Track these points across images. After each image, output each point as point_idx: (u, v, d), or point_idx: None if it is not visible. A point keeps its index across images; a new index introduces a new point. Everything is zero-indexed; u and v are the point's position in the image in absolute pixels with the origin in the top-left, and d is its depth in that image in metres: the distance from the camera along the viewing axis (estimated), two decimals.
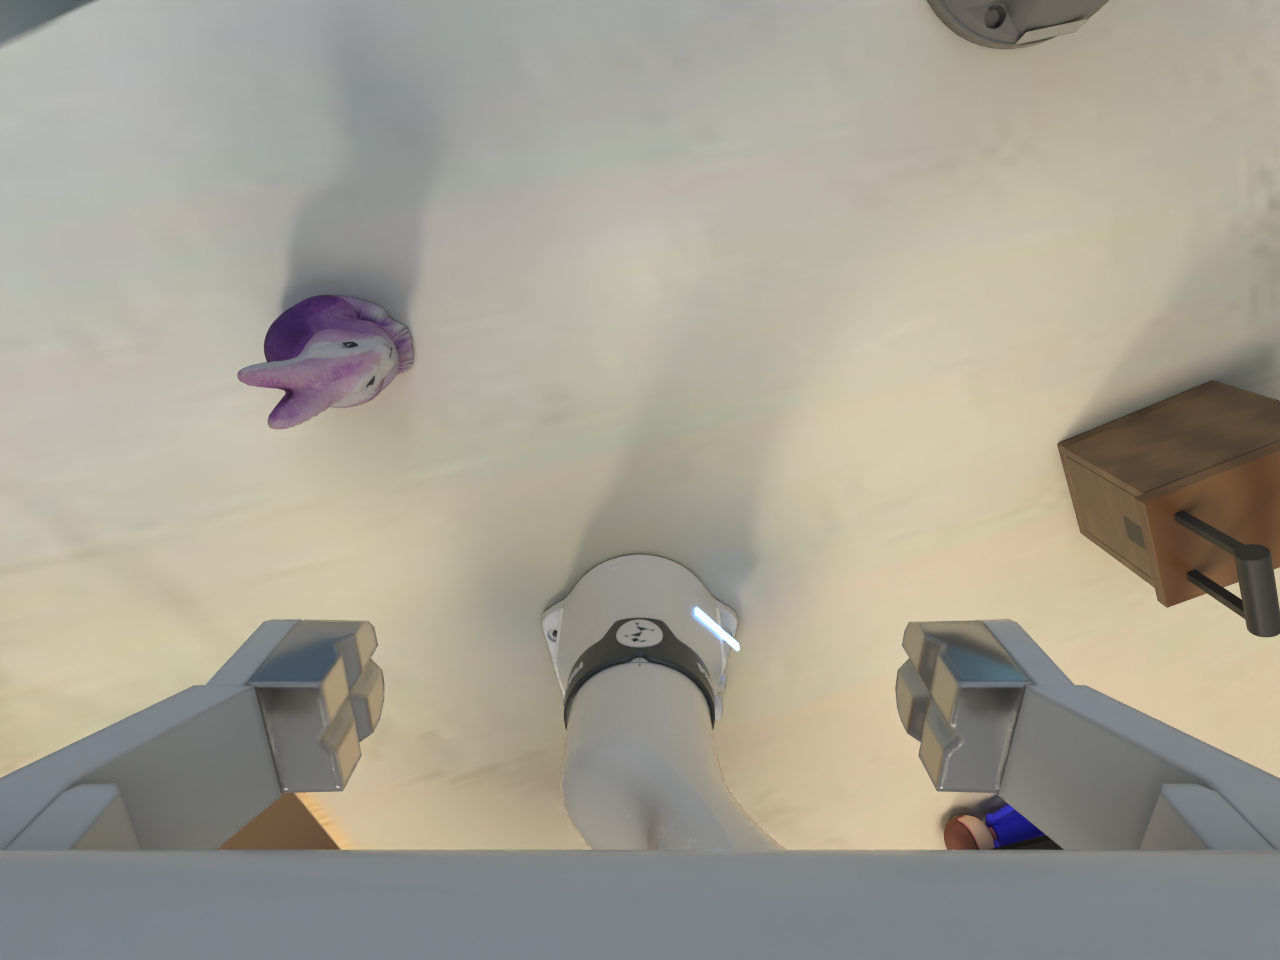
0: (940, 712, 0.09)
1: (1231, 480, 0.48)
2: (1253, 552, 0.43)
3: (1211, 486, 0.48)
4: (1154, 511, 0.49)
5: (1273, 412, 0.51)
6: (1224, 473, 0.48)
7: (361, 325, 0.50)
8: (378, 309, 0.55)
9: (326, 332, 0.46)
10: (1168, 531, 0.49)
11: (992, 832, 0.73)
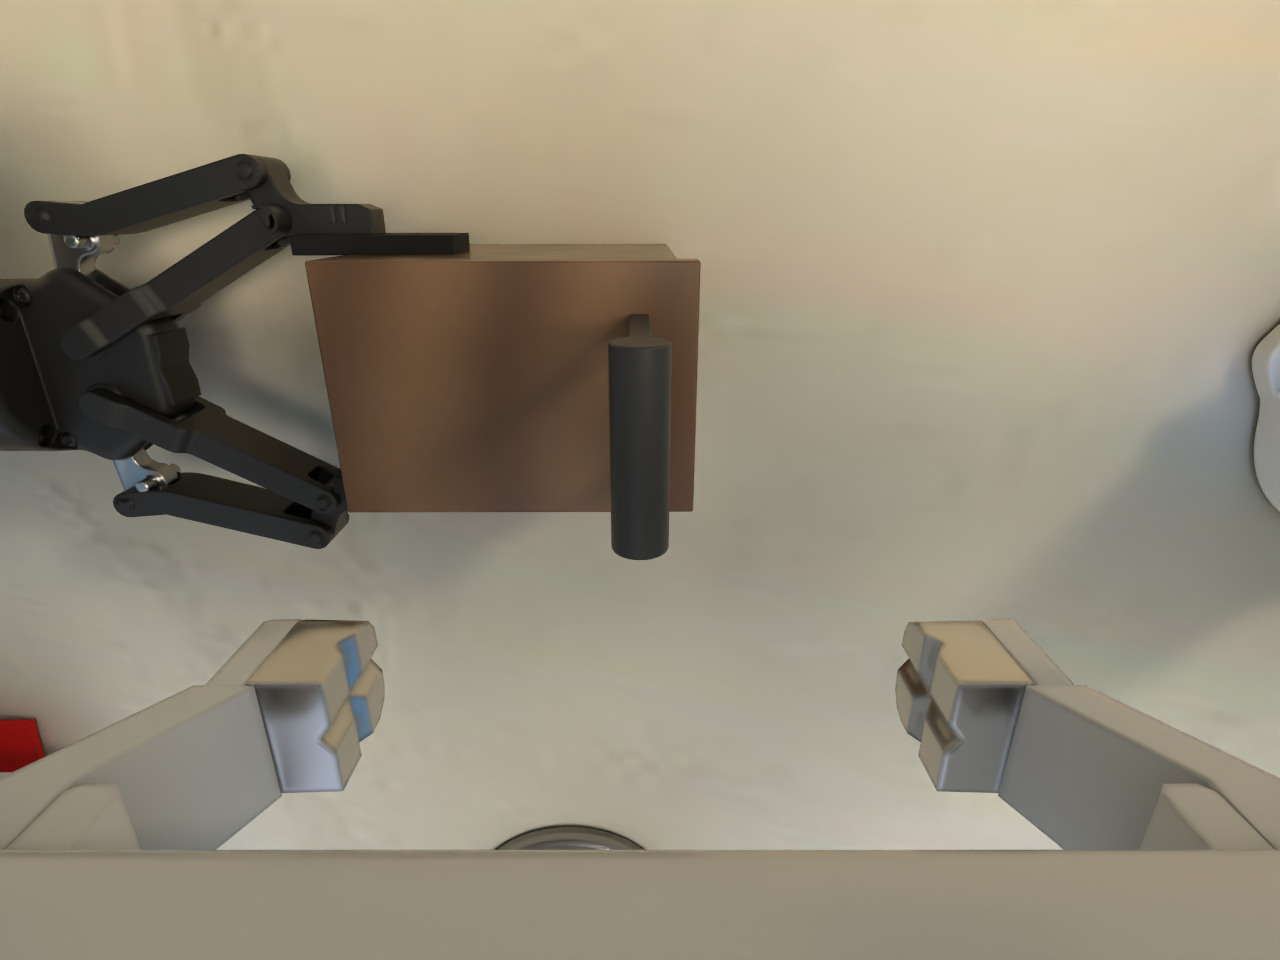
0: (940, 712, 0.09)
1: (545, 491, 0.27)
2: None
3: (579, 494, 0.27)
4: (679, 488, 0.27)
5: None
6: (555, 508, 0.27)
7: None
8: None
9: None
10: None
11: None
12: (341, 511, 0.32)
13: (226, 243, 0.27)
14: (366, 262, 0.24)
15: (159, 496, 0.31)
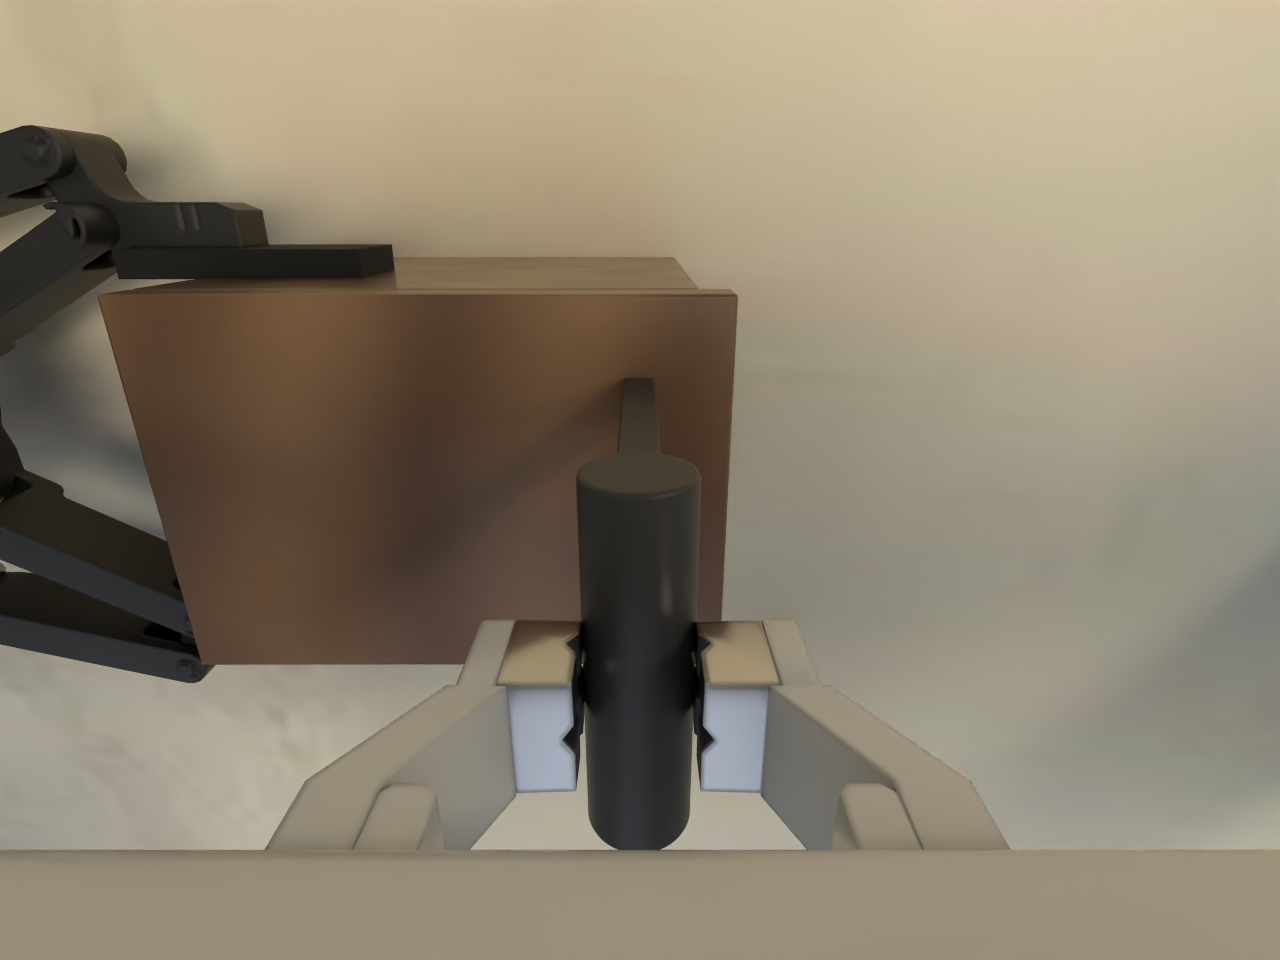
0: None
1: None
2: None
3: None
4: None
5: None
6: None
7: None
8: None
9: None
10: None
11: None
12: None
13: (18, 261, 0.18)
14: (196, 296, 0.15)
15: None
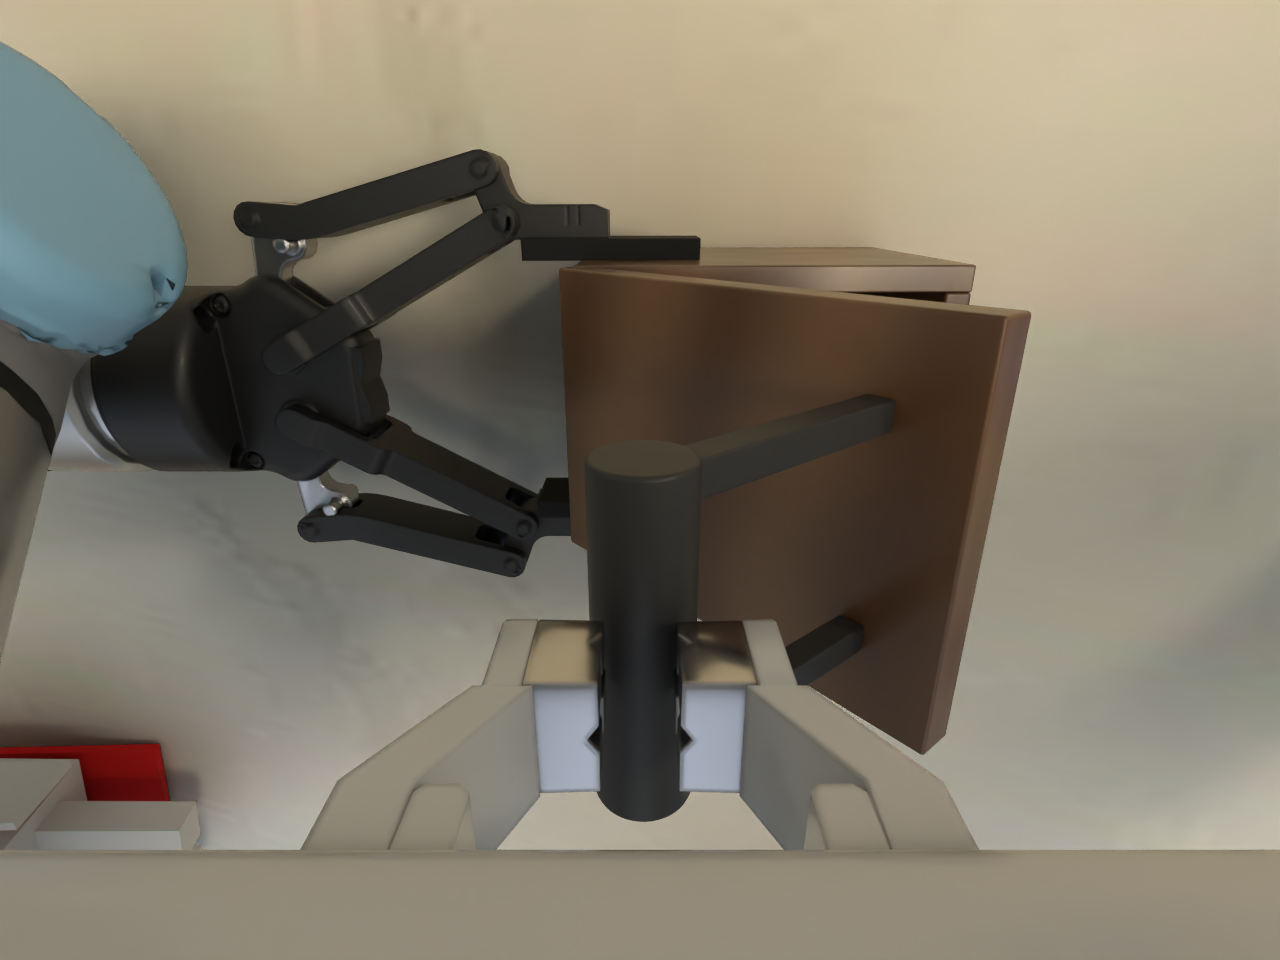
0: None
1: (731, 611, 0.19)
2: None
3: None
4: (905, 706, 0.15)
5: None
6: None
7: None
8: None
9: None
10: (891, 616, 0.15)
11: None
12: (538, 537, 0.30)
13: (449, 247, 0.25)
14: (599, 273, 0.20)
15: (347, 520, 0.29)
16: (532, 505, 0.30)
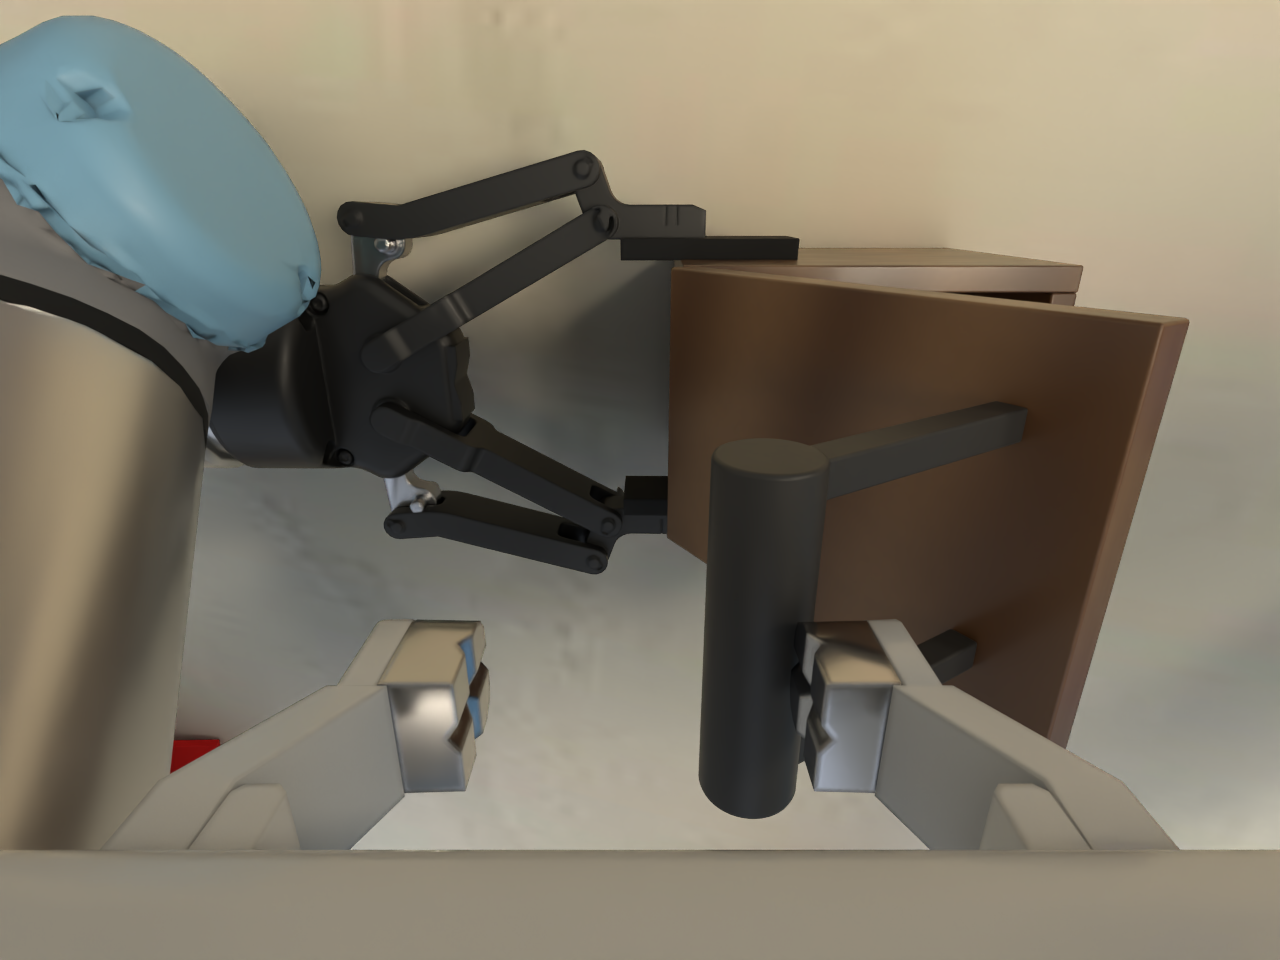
0: None
1: (831, 617, 0.19)
2: None
3: None
4: None
5: None
6: None
7: None
8: None
9: None
10: (1010, 633, 0.14)
11: None
12: (620, 534, 0.30)
13: (549, 247, 0.25)
14: (712, 273, 0.20)
15: (433, 517, 0.29)
16: (614, 503, 0.30)
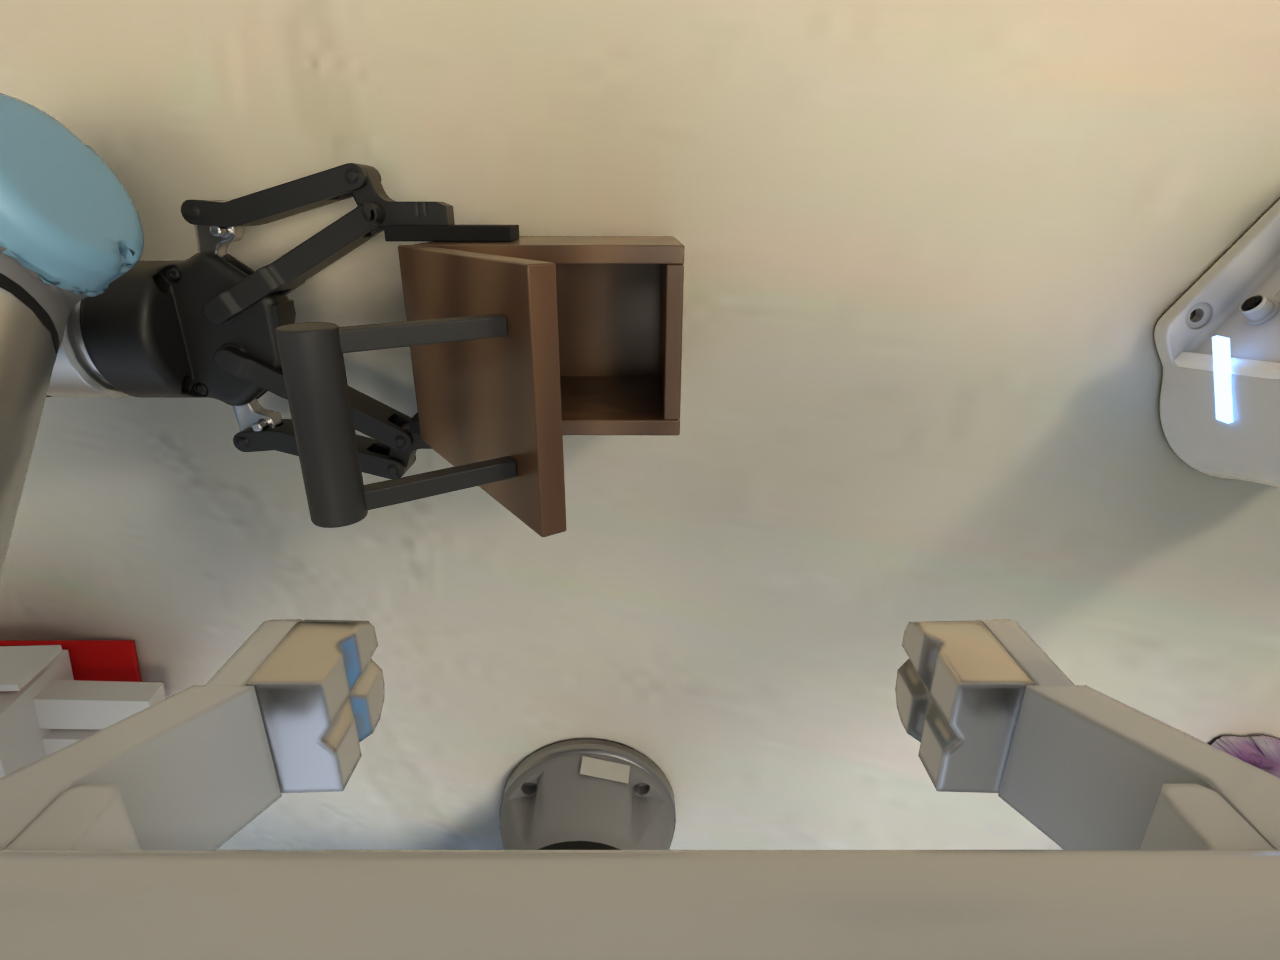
0: (940, 712, 0.09)
1: None
2: None
3: None
4: (533, 507, 0.25)
5: None
6: (483, 486, 0.29)
7: None
8: None
9: None
10: (522, 450, 0.25)
11: None
12: (413, 449, 0.40)
13: (334, 232, 0.35)
14: (412, 248, 0.31)
15: (270, 435, 0.40)
16: (409, 426, 0.40)
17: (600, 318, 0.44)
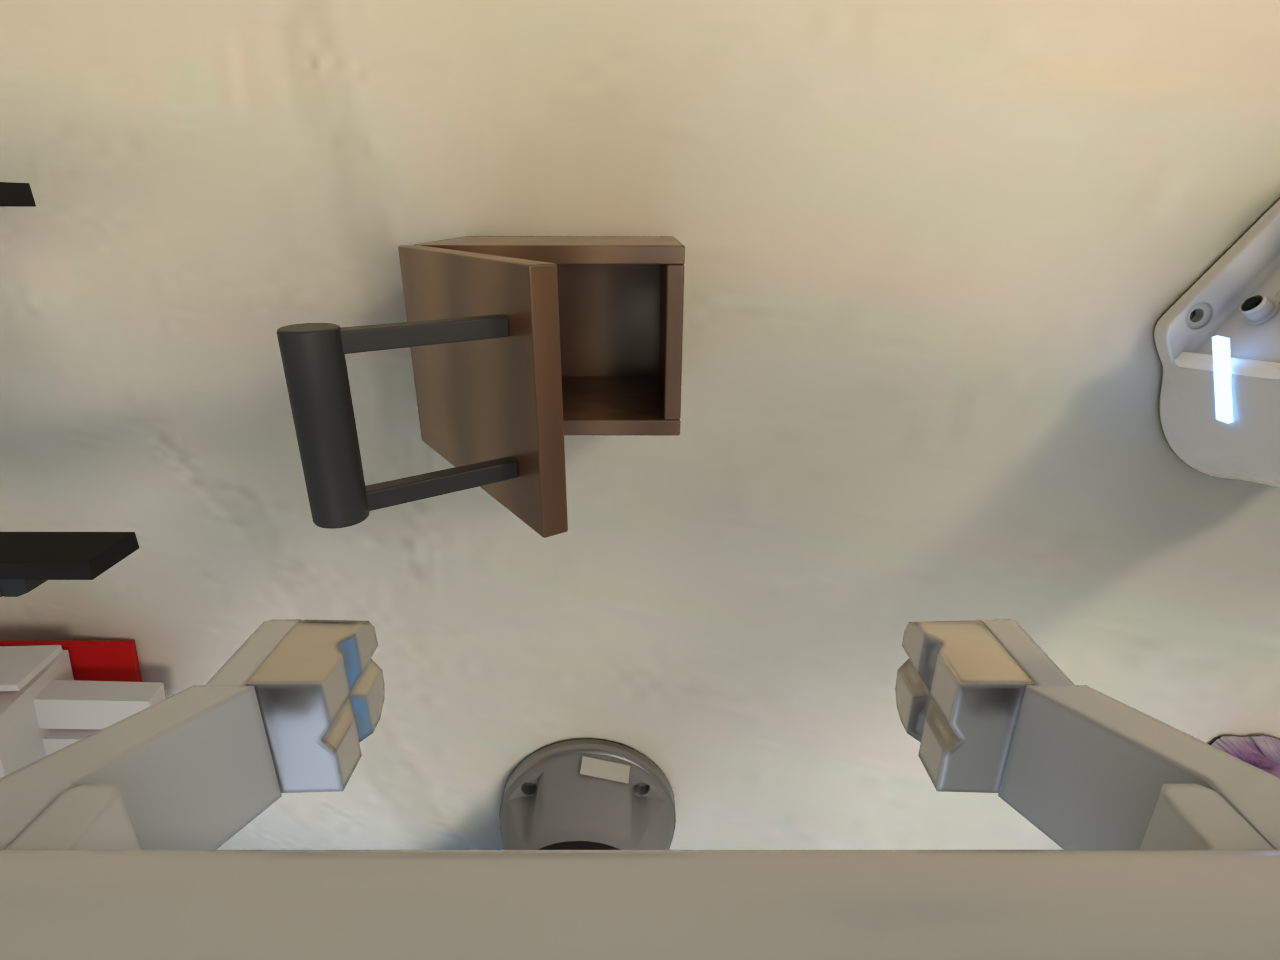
0: (940, 712, 0.09)
1: None
2: None
3: None
4: (534, 508, 0.25)
5: None
6: (484, 486, 0.29)
7: None
8: None
9: None
10: (524, 450, 0.25)
11: None
12: None
13: None
14: (412, 248, 0.31)
15: None
16: None
17: (600, 318, 0.44)
